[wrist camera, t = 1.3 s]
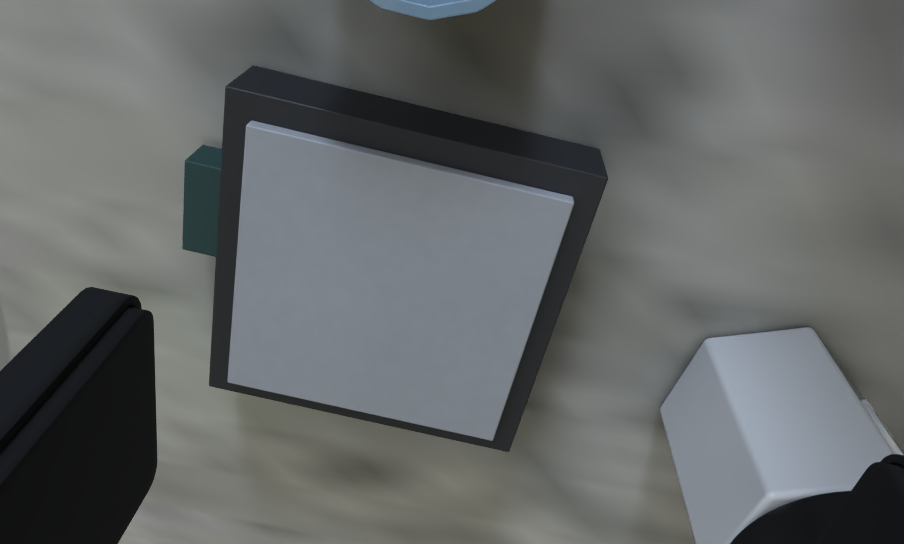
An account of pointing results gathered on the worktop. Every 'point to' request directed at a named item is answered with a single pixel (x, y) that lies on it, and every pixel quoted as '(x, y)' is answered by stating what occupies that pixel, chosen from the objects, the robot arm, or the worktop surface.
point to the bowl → (433, 7)
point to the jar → (769, 437)
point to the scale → (385, 254)
